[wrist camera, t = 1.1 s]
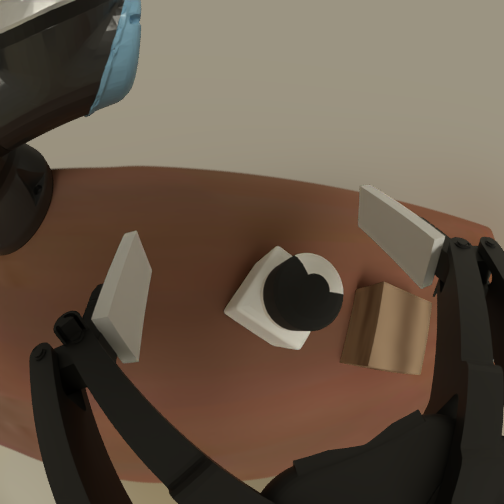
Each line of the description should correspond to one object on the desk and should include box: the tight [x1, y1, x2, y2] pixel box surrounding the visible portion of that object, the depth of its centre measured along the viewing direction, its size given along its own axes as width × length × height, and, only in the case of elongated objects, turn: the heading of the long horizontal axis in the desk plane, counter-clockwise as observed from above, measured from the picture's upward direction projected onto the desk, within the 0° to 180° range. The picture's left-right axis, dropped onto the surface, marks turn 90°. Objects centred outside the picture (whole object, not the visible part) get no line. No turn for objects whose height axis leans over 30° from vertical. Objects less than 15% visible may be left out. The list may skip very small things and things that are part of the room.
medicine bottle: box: [224, 246, 343, 350], centre depth 25 cm, size 7×7×12 cm
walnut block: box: [340, 282, 432, 375], centre depth 31 cm, size 10×10×6 cm
